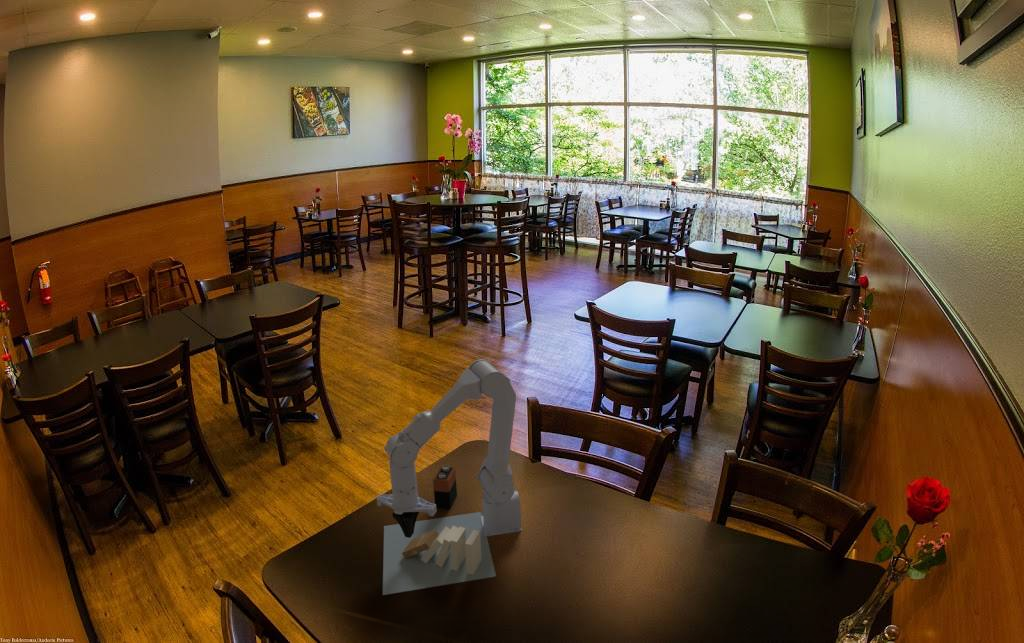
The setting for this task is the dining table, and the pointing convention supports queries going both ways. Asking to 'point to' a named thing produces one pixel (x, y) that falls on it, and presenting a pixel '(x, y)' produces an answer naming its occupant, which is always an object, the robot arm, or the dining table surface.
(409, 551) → the oak domino
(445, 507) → the battery
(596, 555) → the dining table surface
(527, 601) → the dining table surface
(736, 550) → the dining table surface
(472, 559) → the domino
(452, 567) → the domino
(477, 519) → the mat
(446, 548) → the domino
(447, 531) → the domino
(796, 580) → the dining table surface
